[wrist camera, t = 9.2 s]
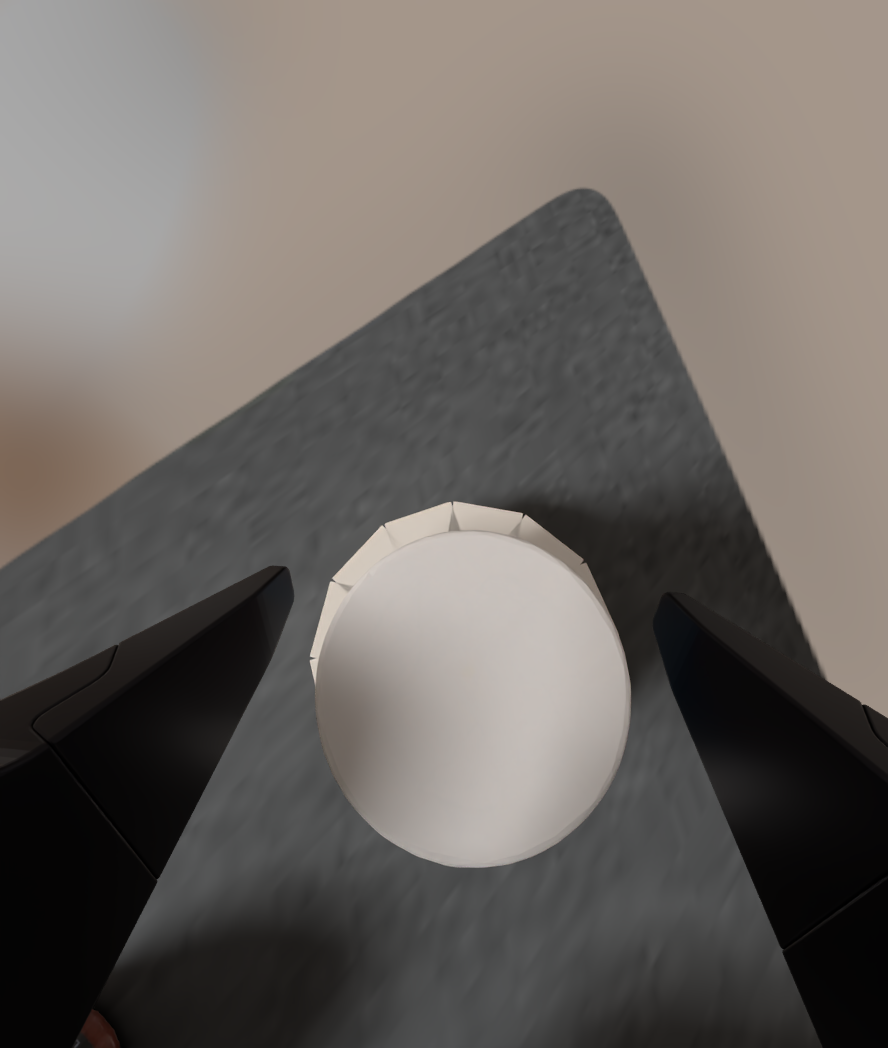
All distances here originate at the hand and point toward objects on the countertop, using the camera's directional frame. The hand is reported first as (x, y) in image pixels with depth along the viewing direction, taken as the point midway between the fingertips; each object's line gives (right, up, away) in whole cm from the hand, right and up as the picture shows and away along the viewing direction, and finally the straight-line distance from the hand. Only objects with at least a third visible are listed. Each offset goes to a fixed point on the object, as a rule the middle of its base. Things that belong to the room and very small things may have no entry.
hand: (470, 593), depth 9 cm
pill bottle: (0, -4, +7) cm, 8 cm away
